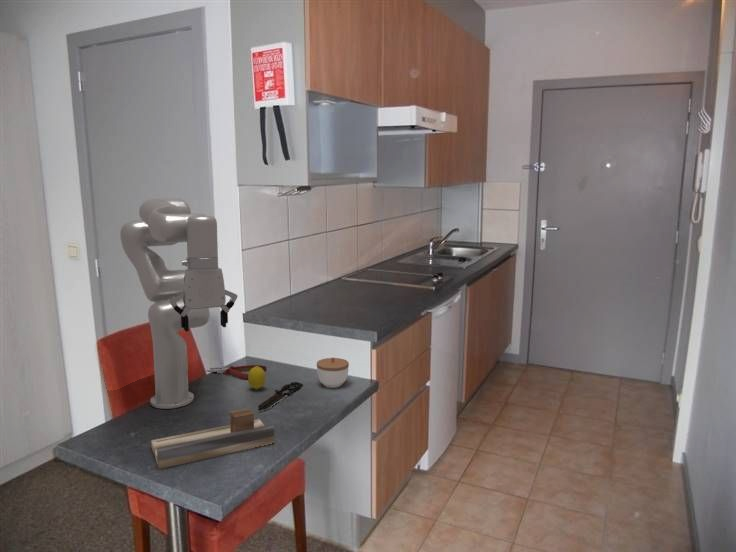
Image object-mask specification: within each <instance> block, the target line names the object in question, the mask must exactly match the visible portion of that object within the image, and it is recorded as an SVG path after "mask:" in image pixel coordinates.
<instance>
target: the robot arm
mask: <svg viewBox="0 0 736 552" xmlns="http://www.w3.org/2000/svg"><path fill="white" fill-rule="evenodd" d="M138 210H139V211H138V212H139V213H138V214H139V217H140V219H136V220H130V221H128V222H126V223H124V224H123V225H122V226H121V228H120V233H119V234H120V235H119V236H120V242H121V246H122V249H123V251H124V253H125V255H126V257H127V258H128V259H129V261H130V262H131V264H132V265H133V267H134V268H135V271H136V273H137V276H138V279H139V282H140V284H141V287H142V290H143V292H144V295H145V296H146V298H147V299H148V301H150V302H152V304H151V305H150V306H149V308H148V312H147V317H148V323H149V326H150V327H149V328H150V331H151V332H150V333H151V338H152V349H153V350H152V351H153V353H152V354H153V370H154V390H155V395H153V396H152V397H151V398H150V400H149V401H150V406H152V407H154V408H155V409H164V410H166V409H168V410H169V409H177V408H182V407H185V406H188V405H190V404H191V403H192V402H194V400H195V394H194V393H193V392H191V391H190V390H189V375H188V374H189V368H188V350H187V349H188V347H187V346H188V345H187V342H186V340H185V339H184V338H183V337H182V336H181V335H180V334H179V331H185V332H189V331H190V329H194V328H195V329H196V328H200V327H204V326H206V325H207V324H208V322H209V320H210V309H212V308H220V309H221V310H220V312H219V314H220V317H219V318H220V326H222V327H223V328H227V324H228V323H229V315H228V314H229V312H230V310H231V308H232V307H234V305H235V302H236V300H238V294H236V293H234V292H232V291H230V290H227V289H226V288H225V287H226V285H225V280H224V274H223V269H222V268H221V267H219V254H218V253H219V251H218V250H219V245H218V243H219V242H218V221H217V219H216V218H215V216H212V215H207V214H204V213H192V211H191V207H190V205H189V204H188V202H186V201H185V200H183V199H181V198H150V199H147V200H145V201H143V202H142V204H141V205H140V206H139V209H138ZM178 243H186V249H187V250H186V251H187V253H186V254H187V256H186V259H184V260H183V259H182V260H181V266H185V267H187V268H186V269H176V270H172V269H171V270H170V269H168V268H167V266H166V264H165V261H164V260H163V258H162V257H161V256H160V255H159V254H158V253H157V252H155V251H154V250H152V249H150V248H149V247H163V246H164V247H165V246H174V245H176V244H178ZM226 297H230V298H229V301H228V302H227V303H226V301H227V300H226Z"/></svg>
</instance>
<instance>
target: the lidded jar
mask: <svg viewBox="0 0 736 552" xmlns="http://www.w3.org/2000/svg"><path fill="white" fill-rule="evenodd" d="M349 365H350V363H349V361H348V360H347V359H345V358H344V359H343V358H339V357H327V358H322V359H319V360H318V361H316V372H317V378H318V379H319V382H320V383H321V384H322V385H323V386H324V387H325V388H327V389H329V388H330V389H335V388H339V387H342V385H343V384H344V383H345V382H346V380H347V378H348V375H349Z"/></svg>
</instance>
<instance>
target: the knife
mask: <svg viewBox="0 0 736 552" xmlns="http://www.w3.org/2000/svg"><path fill="white" fill-rule="evenodd" d="M281 387H282V388H281V389H280V390H278V389H274V394H273V395H272V396H271V397H269V398H268V399H266V400H264V401H263V402H262V403H260V404H259V405H257V407H258V408H257V409H258V411H262V410H266V411H268V410H267V409H268V408H270V407H271V408H273V407H274V406H276V405H277V404H278V402H279V403H280V402H281V401H283V400H285V397H286V398H287V397H289V396H291V395H294V392H295V393H296V391H297V392H298V391H299V390H300V389H301V387H304V384H303V383H301V382H297V381H295V382H294V381H292V382H289V383H287V384H285V385H283V386H281ZM285 389H286V390H288V391H287V392H283V391H284V390H285ZM275 392H276V393H275ZM290 394H291V395H290ZM270 402H271V403H270ZM276 403H277V404H276ZM275 404H276V405H275ZM273 405H274V406H273ZM264 406H265V407H264ZM272 406H273V407H272ZM261 408H262V409H261ZM271 408H270V409H271ZM262 412H263V411H262Z"/></svg>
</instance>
